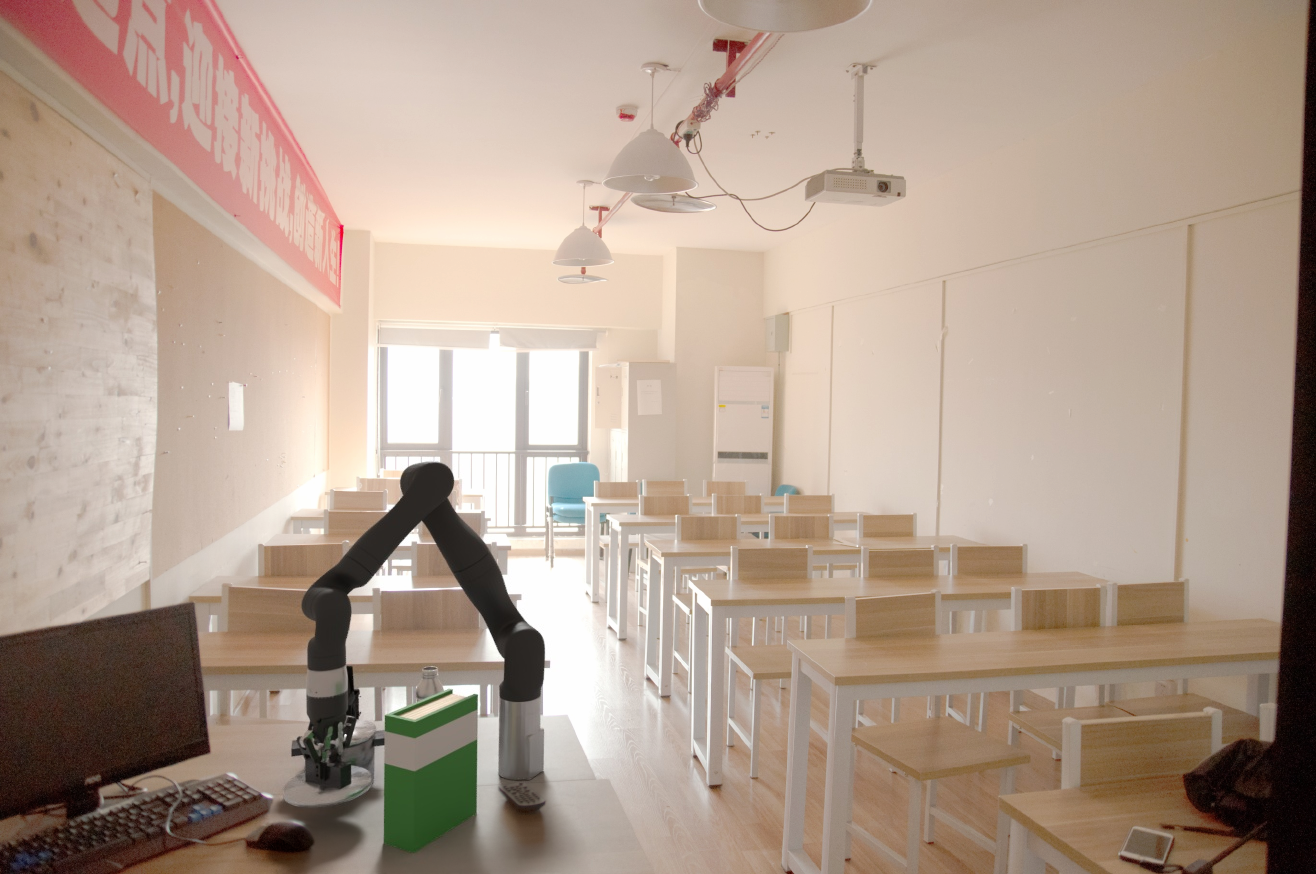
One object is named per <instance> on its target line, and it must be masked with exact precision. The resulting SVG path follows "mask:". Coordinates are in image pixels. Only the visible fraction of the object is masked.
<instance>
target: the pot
mask: <svg viewBox="0 0 1316 874" xmlns="http://www.w3.org/2000/svg"><path fill="white" fill-rule="evenodd" d="M307 732H308V729H307V730H306V731H305V732H304V735H305V734H306V733H307ZM304 735H303V736H304ZM312 739H313V738H312ZM345 739H346V734H345V736H344V741H345ZM296 740H297V739H293V740H291V748H290V749H291V753H290V755H291V757H293V758H294V757H299V756H303V754H302V752H301V750H300V748H299V746H298V743H297V741H296ZM319 744H321V743H319ZM384 744H385V729H381V730H377V725H376V724H375V723H373V722H371V721H368V720H364V719H359V720H358V719H357V721H356V725H355V728H354V732H353V735H352V739H351V742H350V746H349V748H345V749H344V750H343V753H342V754H341V761H344V762H348V763H351V766H358V767H362V768H364V769H366V770H368V771H369V772H370V773H371V776H372V783H373V782H374V780H375V757H376V755H375V749H376V747H382V746H383V747H384ZM322 745H324V744H322ZM330 754H331V753H330V752H329V750H328V751H327V758H329V755H330ZM319 755H320V756H321V751H320V752H319Z"/></svg>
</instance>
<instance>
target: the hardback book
mask: <svg viewBox="0 0 1316 874" xmlns="http://www.w3.org/2000/svg"><path fill="white" fill-rule="evenodd" d="M453 690H454V689H452V688H448V689H444V691H442V692H440V693H437V694H435V695H432V696H430V697H428V698H425V699H423V700H420V701H418V702H413V703H409V704H408V705H406V706H404V707H401V708H398V709H396V710H394V711H391V712H389V713H387V714H384V730H385V744H384V746H383V747H384V748H383V749H384V751H383V753H384V754H383V756H384V758H383V761H384V762H383V769H384V770H383V777H384V779H383V844H385V845H387V846H391V847H394V848H396V849H400V850H403V851H406V852H410V853H412V854H415V853H417V852H418V851H420V850H422V849H423V848H424V847H426V846H428V845H429V844H431V843H432V842H433V841H436V840H437V839H439V838H440V837H442V836H443V835H445V834H446V833H448V832H449V831H451V830H453V829H455V828H456V827H457V826H460V825H461V824H462V823H464V822H465V821H467V820H468V819H470V818H472V817H473V816H474V815H476V814H477V812H478V810H477V808H478V805H477V804H478V803H477V802H478V798H477V797H478V796H477V795H478V733H479V732H478V731H479V730H478V723H479V722H478V721H479V720H478V719H479V718H478V717H479V715H478V713H479V712H478V711H479V708H478V707H479V694H477V693H473V694H471V695H468V696H464V695H461V694H454V693H453V692H454V691H453Z"/></svg>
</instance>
